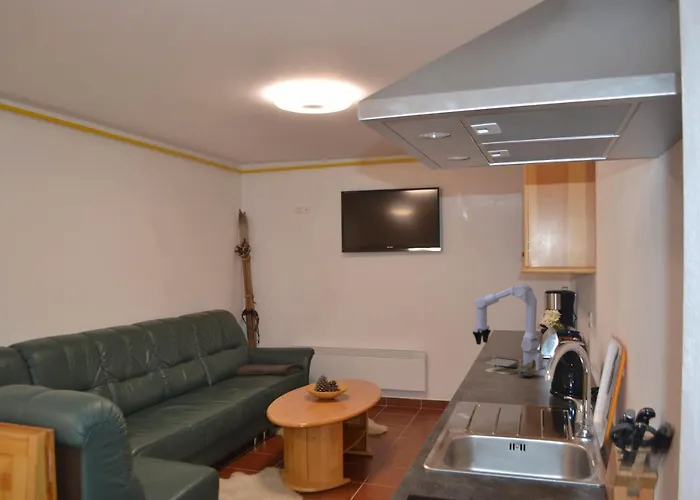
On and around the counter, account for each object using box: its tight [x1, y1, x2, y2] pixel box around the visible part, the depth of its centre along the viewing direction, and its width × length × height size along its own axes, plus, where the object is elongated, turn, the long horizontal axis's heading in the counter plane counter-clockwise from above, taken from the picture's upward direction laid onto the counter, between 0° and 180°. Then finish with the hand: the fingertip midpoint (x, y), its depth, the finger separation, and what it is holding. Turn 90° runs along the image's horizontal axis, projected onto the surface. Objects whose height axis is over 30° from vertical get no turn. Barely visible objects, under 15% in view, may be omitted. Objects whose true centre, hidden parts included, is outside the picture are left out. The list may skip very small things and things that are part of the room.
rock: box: [515, 359, 536, 378], centre depth 266 cm, size 11×6×10 cm
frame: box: [483, 355, 523, 376], centre depth 280 cm, size 16×12×6 cm
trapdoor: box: [485, 355, 523, 369], centre depth 282 cm, size 12×18×4 cm
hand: (481, 343), depth 305 cm, fingers open, 7 cm apart
